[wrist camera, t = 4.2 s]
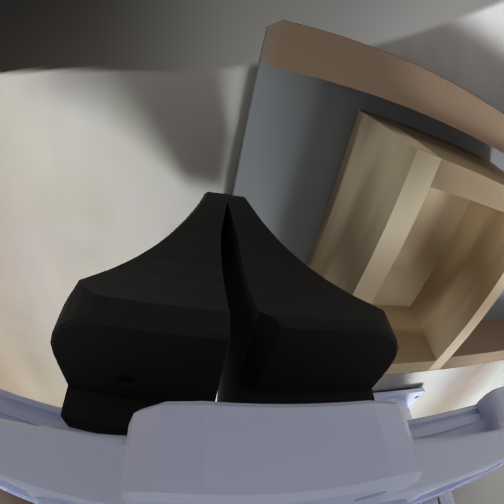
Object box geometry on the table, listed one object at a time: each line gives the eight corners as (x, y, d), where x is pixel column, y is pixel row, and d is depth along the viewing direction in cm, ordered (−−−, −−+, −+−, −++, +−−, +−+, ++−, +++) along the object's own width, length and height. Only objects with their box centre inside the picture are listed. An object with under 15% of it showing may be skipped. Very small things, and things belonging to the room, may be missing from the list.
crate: (411, 310, 16) (438, 369, 13) (291, 303, 15) (305, 377, 12) (491, 161, 11) (550, 209, 8) (358, 109, 10) (417, 149, 7)
